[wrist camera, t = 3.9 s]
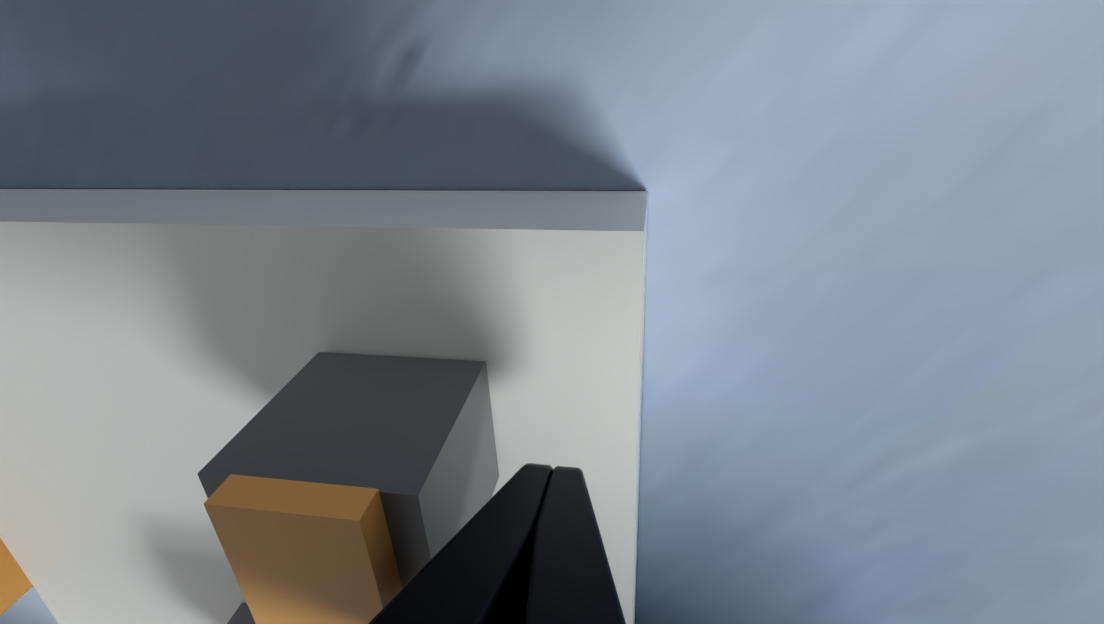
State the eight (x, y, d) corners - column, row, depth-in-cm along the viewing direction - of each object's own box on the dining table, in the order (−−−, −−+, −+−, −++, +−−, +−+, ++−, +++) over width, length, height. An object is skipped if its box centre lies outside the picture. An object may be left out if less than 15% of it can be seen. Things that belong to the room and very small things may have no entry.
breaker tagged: (485, 358, 10) (400, 525, 6) (499, 478, 11) (433, 666, 8) (318, 349, 10) (166, 499, 7) (349, 464, 11) (231, 636, 8)
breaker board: (648, 190, 10) (633, 338, 6) (632, 680, 16) (620, 925, 12) (-96, 188, 13) (-494, 285, 8) (141, 607, 19) (-13, 785, 15)
